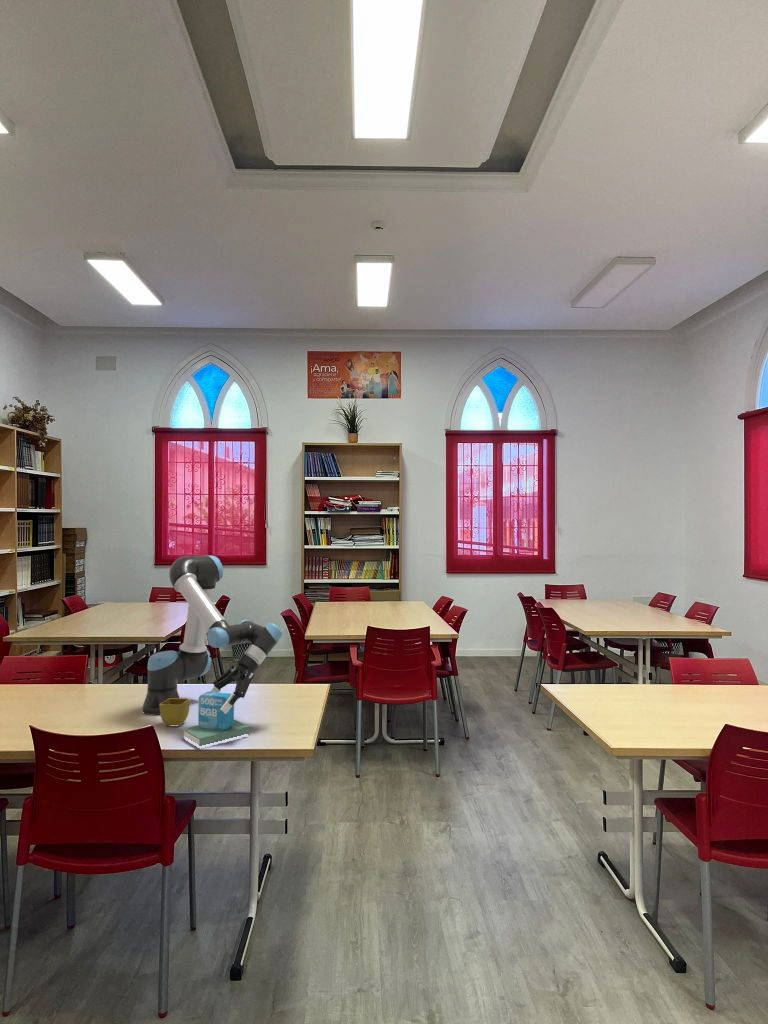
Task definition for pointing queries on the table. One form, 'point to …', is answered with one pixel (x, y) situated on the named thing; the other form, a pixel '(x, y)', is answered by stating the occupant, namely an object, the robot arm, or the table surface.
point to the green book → (214, 733)
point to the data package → (214, 711)
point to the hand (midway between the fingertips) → (214, 707)
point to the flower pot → (174, 711)
